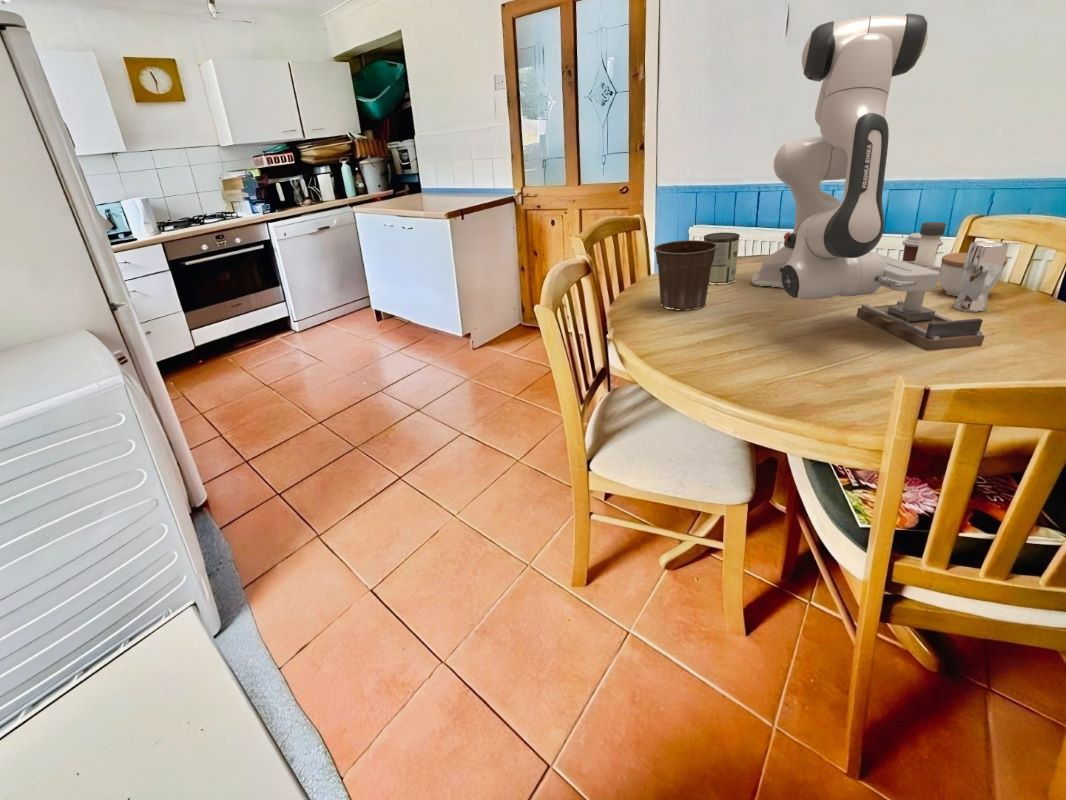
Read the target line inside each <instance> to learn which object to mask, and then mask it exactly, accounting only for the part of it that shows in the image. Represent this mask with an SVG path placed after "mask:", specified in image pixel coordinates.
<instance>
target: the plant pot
mask: <svg viewBox="0 0 1066 800" xmlns="http://www.w3.org/2000/svg"><path fill="white" fill-rule="evenodd" d="M717 247H718V245H717V244H716V243H713V242H708V241H704V240H696V239H695V240H694V239H693V240H692V239H691V240H686V239H685V240H676V241H675V240H674V241H667V242H664V243H660V244H657V245H656V246H654V248H653V251H654V252H655V256H656V257H655V258H656V264H657V269H658V270H657V271H658V282H659V297H660V298H659V301H660V305H661V304H662V305H663V306H665V307H669V308H674V309H681V310H685V309H694V308H699V307H701V308H703V307H705V306H706V303H707V297H708V290H709V278H710V271H711V265H712V262H713V261H714V255H715V250H716V249H717ZM702 306H703V307H702ZM699 309H700V308H699Z"/></svg>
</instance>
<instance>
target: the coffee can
mask: <svg viewBox="0 0 1066 800" xmlns="http://www.w3.org/2000/svg"><path fill="white" fill-rule="evenodd" d="M703 241H708V242H713V243H716V244H717V245H718V247H717V249H716V250H715V255H714V261H713V262H712V265H711V271H710V278H709V282H711V283H728V282H732V281H734V280H735V281H736V273H737V263H738V252H739V241H740V234H738V233H735V232H712V233H708V234H705V235H704V236H703Z"/></svg>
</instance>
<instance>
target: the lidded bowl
mask: <svg viewBox="0 0 1066 800" xmlns="http://www.w3.org/2000/svg"><path fill="white" fill-rule="evenodd" d="M966 254H967V252H954V253H949V254H948V253H947V254H945V255H942V257H941V264H940V268H939V270H938V272H939V273H940V276H939V280H938V282H939V283H940V286H941V288H943V290H944V291H945V293H946V294H947V295H949V296H951V295H952V297H956V296H957V297H958V295H959V292H960V287H961V276H962V268H963V264H964V260H965V257H966ZM1007 264H1008V258H1005V261H1004V264H1003V267H1002V270H1001V272H1000V274H999V276H998V277H997V279H996V281H995V283H994V284H993V286H992V288H994V287H995V286H996V284H997V283H998V282H999V280H1000V278H1001V276H1002V275H1003V272H1004V269H1005V267H1006V265H1007ZM957 297H956V298H957Z"/></svg>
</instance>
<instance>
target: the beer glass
mask: <svg viewBox="0 0 1066 800" xmlns="http://www.w3.org/2000/svg"><path fill="white" fill-rule="evenodd" d="M1009 245H1010V244H1009V243H1008V242H1003V241H996V240H995V241H994V240H977V241H972V242H971V243H970V245H969V248H968V250H967V252H966V253H967V254H966V257H965V260H964V264H963V268H962V276H961V287H960V292H959V295H958V297H956V299H955V301H954V303H953V305H952V307H953V309H955V310H957V309H958V310H957V311H960V310H962V312H966V311H971V312H970V313H979V312H978V311H982V312H984V310H985V311H986V309H987V305H988V297H989V295H990V292H991V290H992V289H993V287H992V286H993V284H994V283H995V281H996V279H997V277H998V276H999V274H1000V272H1001V270H1002V267H1003V264H1004V261H1005V258H1006V257H1007V253H1008V248H1009Z"/></svg>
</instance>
